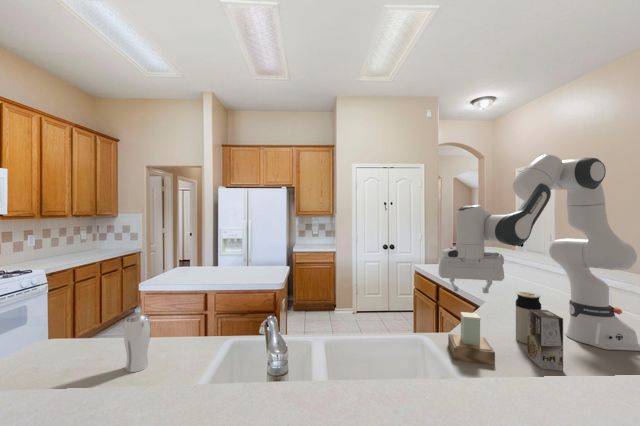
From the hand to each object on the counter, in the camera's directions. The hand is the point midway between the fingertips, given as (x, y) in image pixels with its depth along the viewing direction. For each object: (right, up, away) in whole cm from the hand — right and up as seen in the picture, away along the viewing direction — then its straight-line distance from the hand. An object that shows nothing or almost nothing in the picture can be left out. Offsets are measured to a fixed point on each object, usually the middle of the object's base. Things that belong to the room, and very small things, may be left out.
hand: (470, 292), depth 101 cm
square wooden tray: (0, -21, 0) cm, 21 cm away
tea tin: (0, -17, 0) cm, 17 cm away
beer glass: (-108, -20, -11) cm, 111 cm away
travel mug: (+27, -22, +11) cm, 37 cm away
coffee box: (+21, -22, -6) cm, 31 cm away
